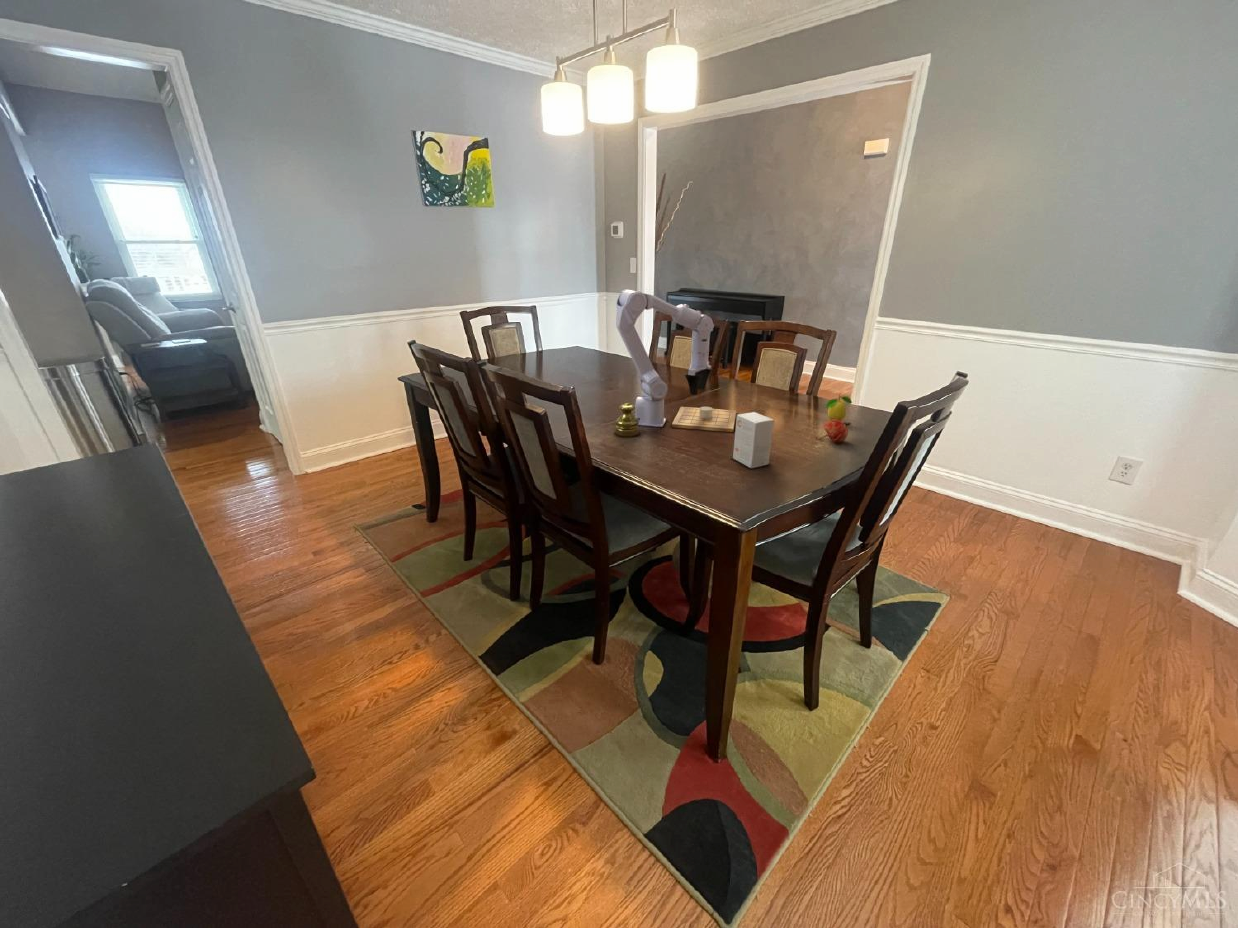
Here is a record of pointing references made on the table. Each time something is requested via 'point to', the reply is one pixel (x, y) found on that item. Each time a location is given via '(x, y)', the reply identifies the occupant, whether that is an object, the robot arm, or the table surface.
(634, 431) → the gold chess pawn
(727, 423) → the board
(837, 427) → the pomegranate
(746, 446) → the small box
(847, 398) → the yellow pear
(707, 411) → the white short cylinder
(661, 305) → the robot arm
